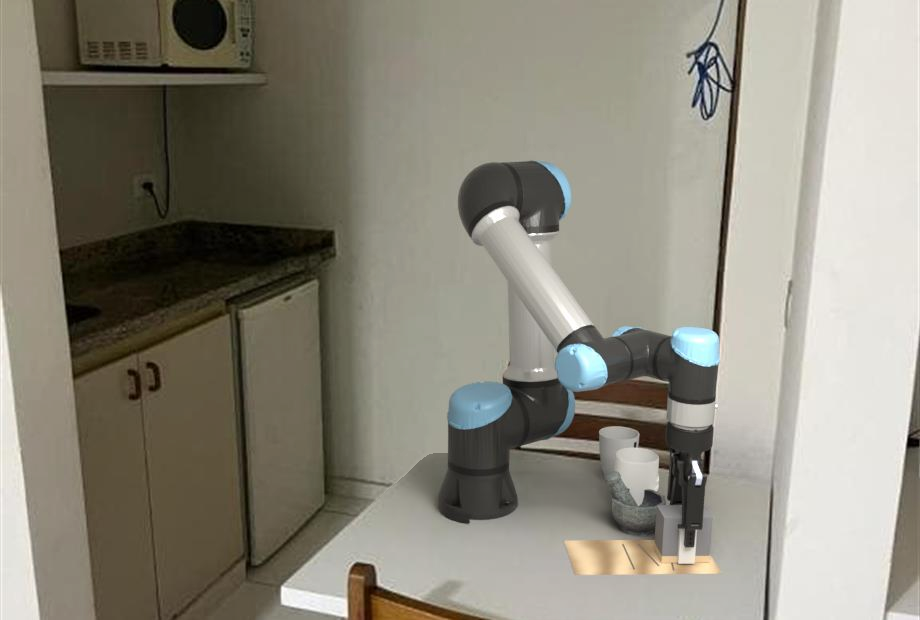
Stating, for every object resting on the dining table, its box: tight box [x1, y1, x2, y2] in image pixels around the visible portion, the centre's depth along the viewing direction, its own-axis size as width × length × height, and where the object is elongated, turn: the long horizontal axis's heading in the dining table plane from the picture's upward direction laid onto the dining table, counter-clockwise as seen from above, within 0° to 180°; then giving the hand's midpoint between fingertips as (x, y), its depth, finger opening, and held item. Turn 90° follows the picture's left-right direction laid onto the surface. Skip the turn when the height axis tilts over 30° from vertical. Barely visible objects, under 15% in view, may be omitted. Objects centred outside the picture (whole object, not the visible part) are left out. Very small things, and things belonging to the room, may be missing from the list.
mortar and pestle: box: [604, 471, 667, 537], centre depth 164 cm, size 11×9×12 cm
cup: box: [598, 425, 640, 481], centre depth 189 cm, size 8×8×10 cm
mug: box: [614, 447, 660, 506], centre depth 173 cm, size 8×12×12 cm
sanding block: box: [654, 504, 713, 563], centre depth 154 cm, size 8×5×8 cm, turn 92°
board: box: [563, 539, 723, 576], centre depth 155 cm, size 24×12×1 cm, turn 92°
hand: (681, 554), depth 155 cm, fingers closed on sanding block, 5 cm apart
